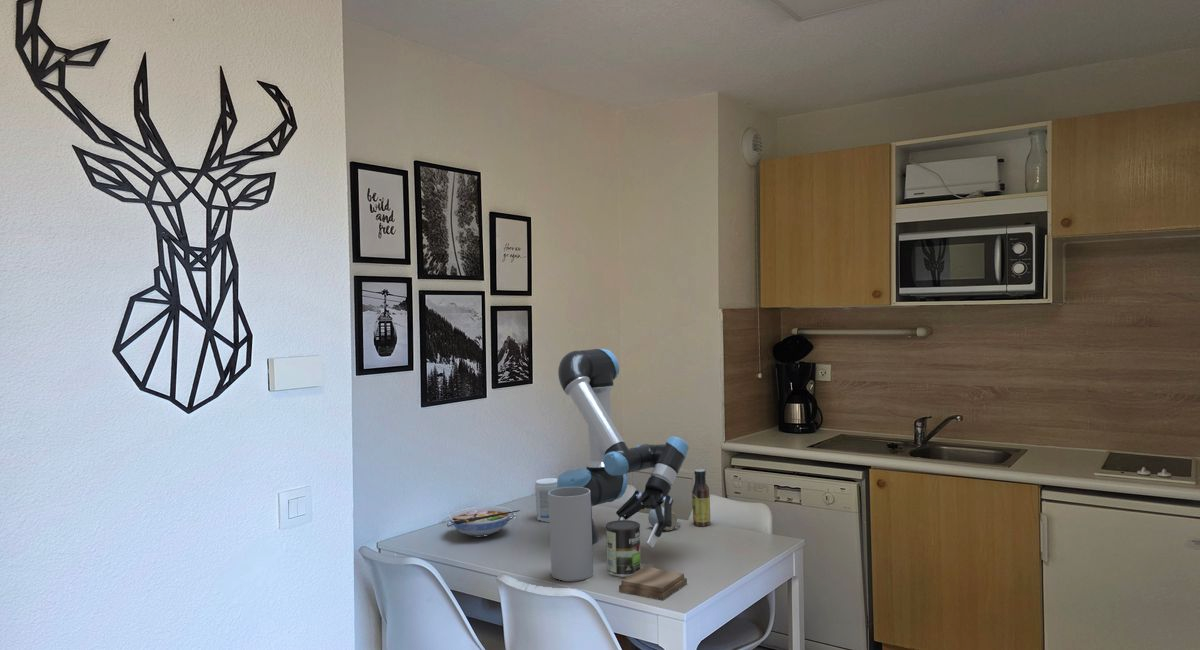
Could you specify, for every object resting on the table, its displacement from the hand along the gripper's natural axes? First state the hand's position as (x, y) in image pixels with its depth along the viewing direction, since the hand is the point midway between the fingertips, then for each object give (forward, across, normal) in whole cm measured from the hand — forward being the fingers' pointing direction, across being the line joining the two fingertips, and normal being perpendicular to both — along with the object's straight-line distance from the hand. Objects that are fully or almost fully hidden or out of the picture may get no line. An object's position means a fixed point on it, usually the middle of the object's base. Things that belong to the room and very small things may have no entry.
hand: (632, 541), depth 236 cm
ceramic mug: (-23, +20, -36) cm, 47 cm away
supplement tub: (-12, +63, -24) cm, 69 cm away
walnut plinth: (+12, -14, -1) cm, 18 cm away
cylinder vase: (+16, +12, +4) cm, 20 cm away
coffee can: (+8, +2, -5) cm, 9 cm away
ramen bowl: (+8, +69, -4) cm, 69 cm away
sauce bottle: (-30, +12, -44) cm, 54 cm away
